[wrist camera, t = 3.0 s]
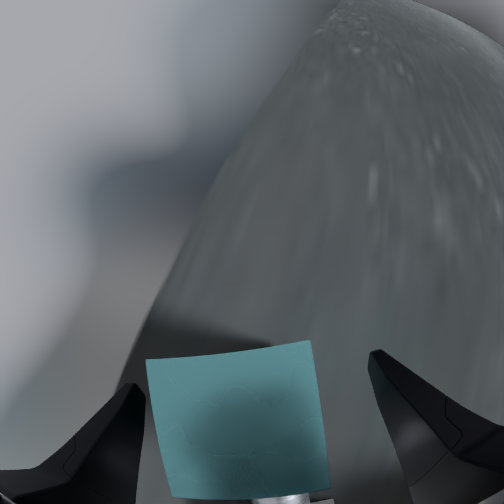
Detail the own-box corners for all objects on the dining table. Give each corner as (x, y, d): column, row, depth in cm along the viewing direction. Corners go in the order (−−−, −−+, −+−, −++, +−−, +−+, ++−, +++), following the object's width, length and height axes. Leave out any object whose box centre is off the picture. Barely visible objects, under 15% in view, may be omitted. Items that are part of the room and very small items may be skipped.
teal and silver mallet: (319, 530, 10) (335, 623, 1) (259, 536, 10) (237, 630, 1) (293, 347, 15) (310, 339, 6) (225, 357, 15) (145, 359, 6)
